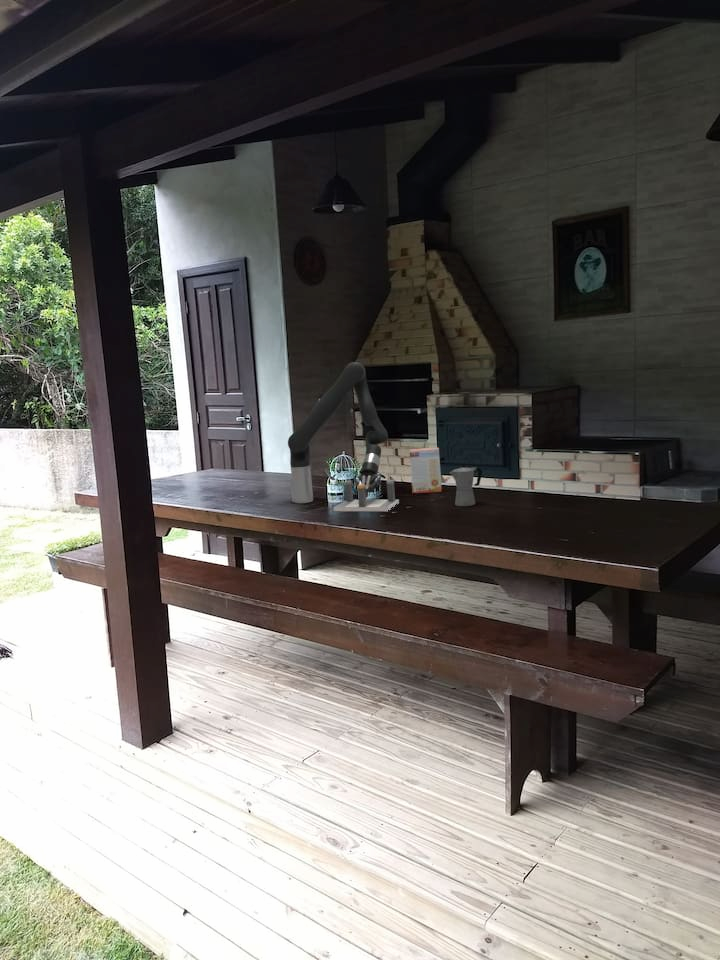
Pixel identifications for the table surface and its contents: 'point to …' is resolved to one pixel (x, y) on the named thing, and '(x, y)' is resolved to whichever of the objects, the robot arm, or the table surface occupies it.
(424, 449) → the cracker box
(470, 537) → the table surface
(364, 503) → the breaker
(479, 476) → the coffeepot
